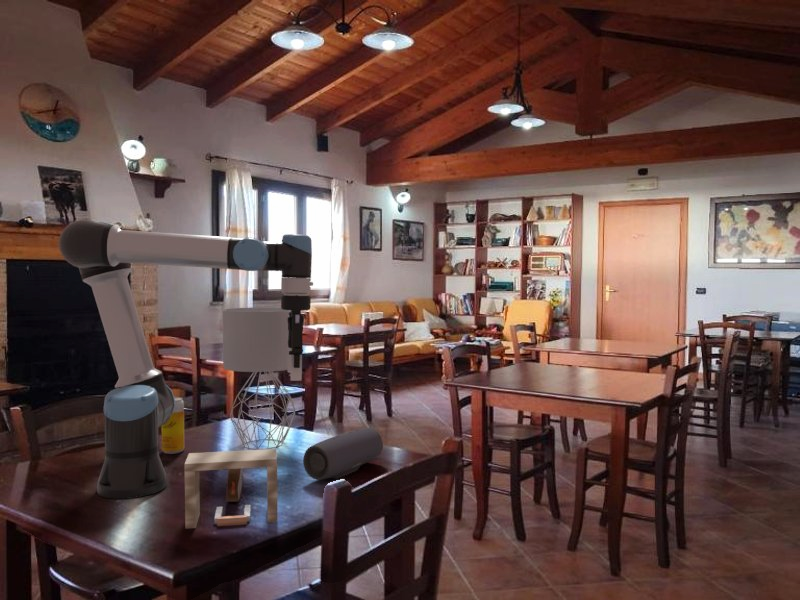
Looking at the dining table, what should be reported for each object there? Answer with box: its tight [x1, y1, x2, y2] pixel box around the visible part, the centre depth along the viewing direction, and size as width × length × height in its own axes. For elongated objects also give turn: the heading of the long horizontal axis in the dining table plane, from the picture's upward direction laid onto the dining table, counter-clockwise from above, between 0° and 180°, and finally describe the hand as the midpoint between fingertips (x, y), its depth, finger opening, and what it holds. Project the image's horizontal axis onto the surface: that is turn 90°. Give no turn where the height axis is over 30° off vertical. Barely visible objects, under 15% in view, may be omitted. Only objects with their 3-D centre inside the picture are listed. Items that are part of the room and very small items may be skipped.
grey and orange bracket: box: [213, 504, 252, 527], centre depth 138 cm, size 7×8×2 cm
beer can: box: [161, 396, 185, 455], centre depth 189 cm, size 6×6×15 cm
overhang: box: [184, 448, 278, 530], centre depth 138 cm, size 18×8×13 cm, turn 101°
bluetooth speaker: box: [302, 427, 384, 481], centre depth 169 cm, size 23×9×10 cm, turn 148°
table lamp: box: [222, 306, 296, 450], centre depth 196 cm, size 22×22×40 cm
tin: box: [225, 468, 244, 503], centre depth 152 cm, size 15×3×8 cm, turn 9°
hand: (294, 376), depth 173 cm, fingers open, 13 cm apart
